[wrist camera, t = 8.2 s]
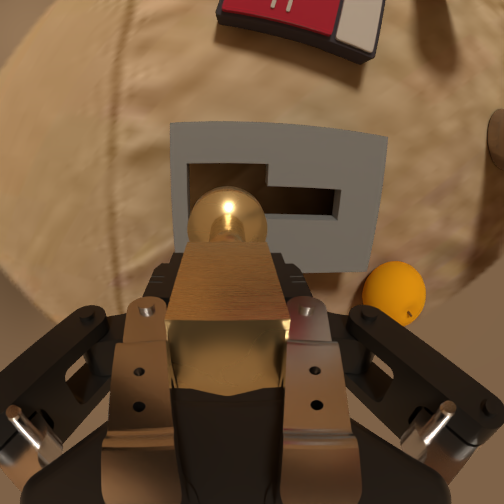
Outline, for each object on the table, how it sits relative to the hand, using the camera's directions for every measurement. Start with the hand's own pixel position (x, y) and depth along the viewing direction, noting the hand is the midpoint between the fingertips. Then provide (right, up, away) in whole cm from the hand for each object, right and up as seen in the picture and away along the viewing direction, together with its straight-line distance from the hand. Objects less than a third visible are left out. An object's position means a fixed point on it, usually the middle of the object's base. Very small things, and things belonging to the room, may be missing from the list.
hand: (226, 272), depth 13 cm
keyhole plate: (+3, +7, +16) cm, 18 cm away
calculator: (+6, +26, +8) cm, 28 cm away
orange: (+18, -3, +22) cm, 28 cm away
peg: (0, +3, +6) cm, 7 cm away
